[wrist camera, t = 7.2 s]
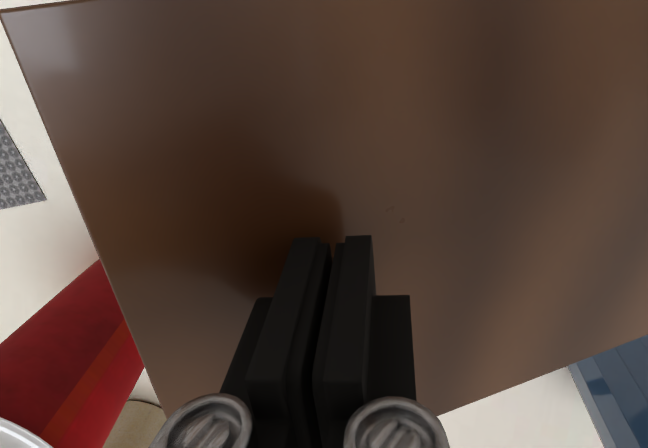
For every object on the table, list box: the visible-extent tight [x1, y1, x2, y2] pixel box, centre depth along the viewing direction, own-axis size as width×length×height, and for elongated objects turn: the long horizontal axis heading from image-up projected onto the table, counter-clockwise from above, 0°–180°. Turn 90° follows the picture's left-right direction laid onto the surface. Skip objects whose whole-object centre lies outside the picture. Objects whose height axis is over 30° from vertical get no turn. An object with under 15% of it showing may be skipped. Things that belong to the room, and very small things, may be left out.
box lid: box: [0, 0, 648, 419], centre depth 12 cm, size 16×13×1 cm
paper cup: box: [0, 259, 145, 448], centre depth 24 cm, size 8×8×14 cm
